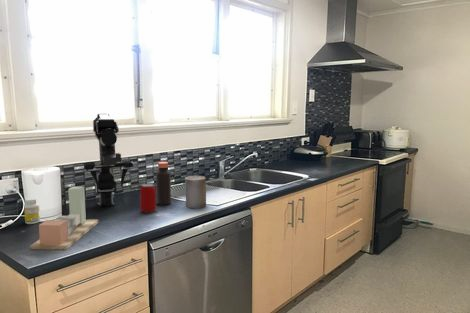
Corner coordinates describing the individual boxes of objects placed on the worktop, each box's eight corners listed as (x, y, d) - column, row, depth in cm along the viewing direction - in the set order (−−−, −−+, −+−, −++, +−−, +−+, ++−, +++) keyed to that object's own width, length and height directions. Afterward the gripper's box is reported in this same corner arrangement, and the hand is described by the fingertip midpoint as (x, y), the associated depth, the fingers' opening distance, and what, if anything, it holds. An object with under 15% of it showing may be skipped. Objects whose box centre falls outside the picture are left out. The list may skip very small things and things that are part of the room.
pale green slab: (74, 220, 147) (73, 186, 145) (85, 220, 147) (84, 186, 145) (53, 236, 130) (51, 197, 128) (65, 236, 130) (63, 197, 128)
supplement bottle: (35, 224, 147) (34, 200, 145) (22, 224, 147) (20, 200, 145) (42, 220, 152) (41, 197, 151) (29, 219, 152) (28, 197, 151)
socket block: (47, 238, 128) (46, 220, 127) (67, 238, 128) (66, 220, 127) (40, 244, 123) (38, 225, 123) (60, 244, 123) (59, 225, 122)
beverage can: (149, 207, 171) (149, 182, 170) (159, 210, 167) (158, 184, 165) (137, 211, 166) (136, 184, 164) (146, 214, 162) (146, 187, 160)
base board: (69, 222, 150) (68, 205, 149) (98, 222, 150) (97, 206, 149) (30, 249, 122) (28, 229, 121) (66, 249, 122) (65, 229, 121)
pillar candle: (203, 202, 182) (202, 172, 180) (208, 207, 173) (208, 176, 171) (183, 204, 178) (182, 173, 176) (188, 209, 169) (187, 177, 167)
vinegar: (173, 203, 179) (173, 162, 177) (162, 206, 174) (161, 164, 172) (165, 200, 184) (164, 161, 181) (153, 203, 179) (152, 162, 176)
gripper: (83, 147, 140) (85, 188, 139) (133, 145, 147) (136, 184, 146) (83, 150, 150) (85, 189, 149) (130, 148, 157) (132, 185, 156)
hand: (109, 187), depth 150 cm, fingers open, 9 cm apart
